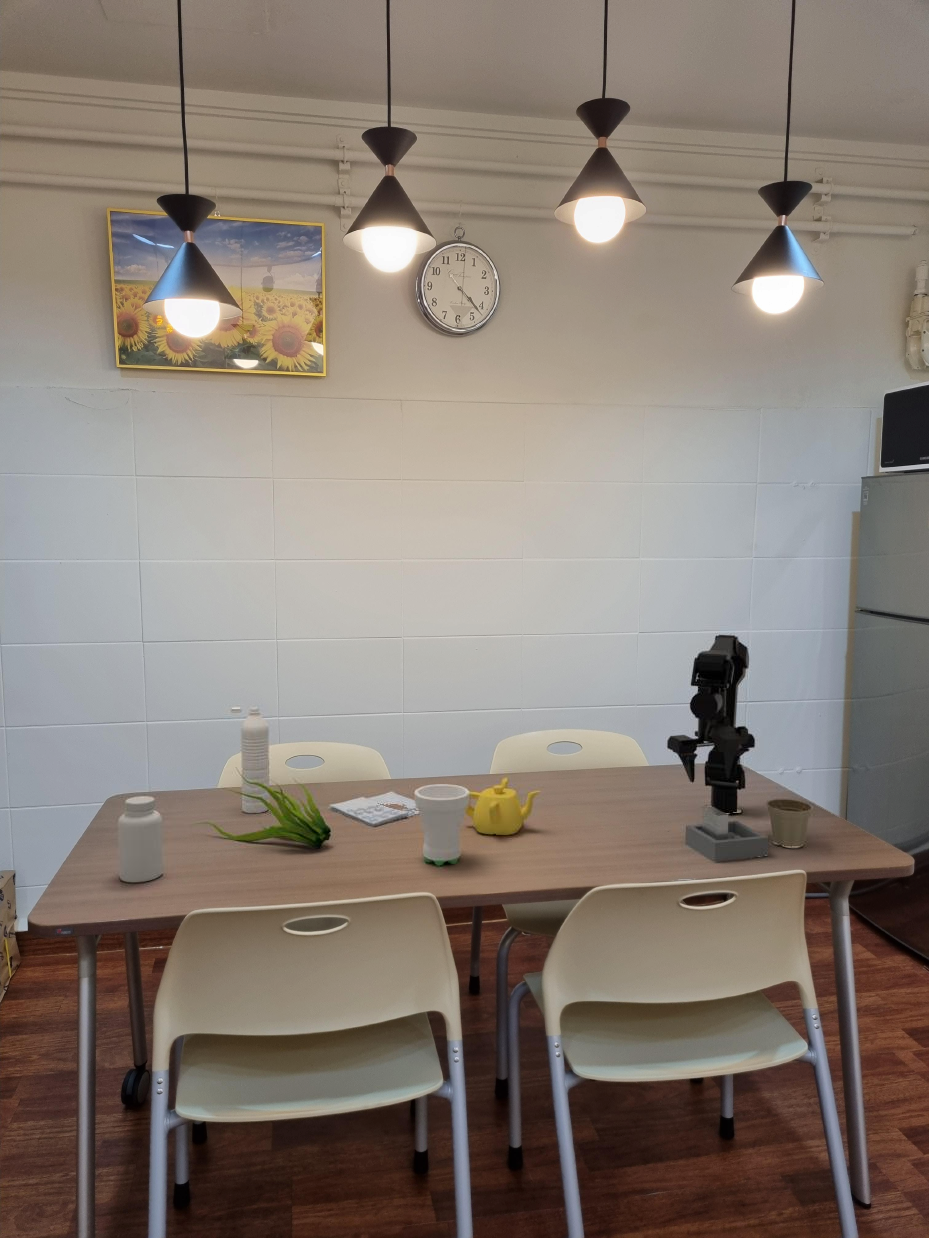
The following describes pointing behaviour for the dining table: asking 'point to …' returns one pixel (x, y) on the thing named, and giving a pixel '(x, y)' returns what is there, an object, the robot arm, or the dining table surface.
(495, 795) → the teapot
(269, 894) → the dining table surface
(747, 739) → the robot arm
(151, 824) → the pill bottle
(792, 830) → the flower pot
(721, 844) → the bin
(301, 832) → the decorative plant
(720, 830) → the bracket
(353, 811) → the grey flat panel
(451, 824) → the cup
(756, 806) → the dining table surface
